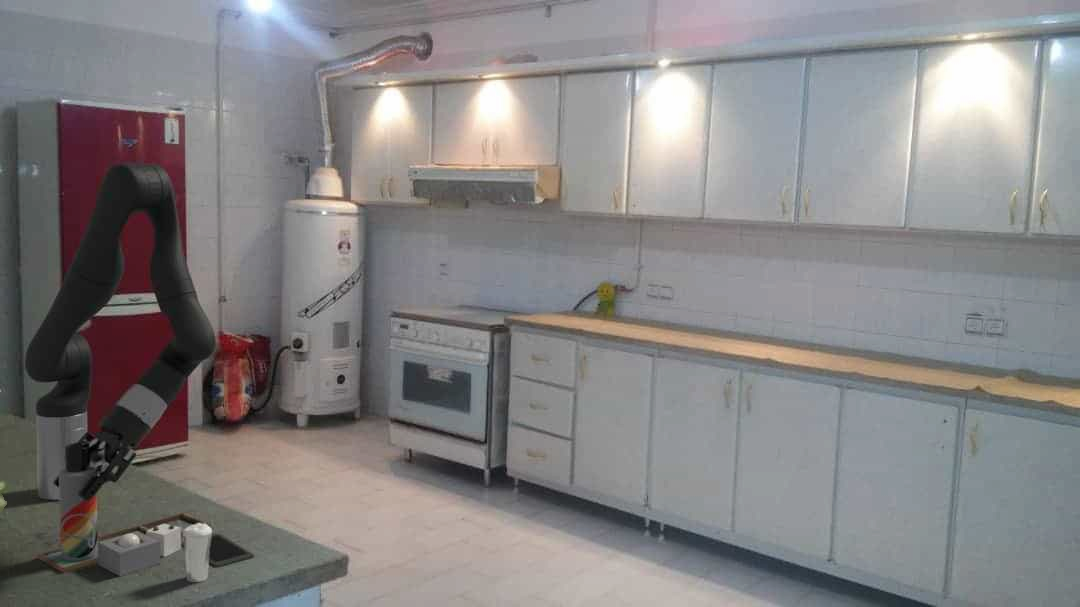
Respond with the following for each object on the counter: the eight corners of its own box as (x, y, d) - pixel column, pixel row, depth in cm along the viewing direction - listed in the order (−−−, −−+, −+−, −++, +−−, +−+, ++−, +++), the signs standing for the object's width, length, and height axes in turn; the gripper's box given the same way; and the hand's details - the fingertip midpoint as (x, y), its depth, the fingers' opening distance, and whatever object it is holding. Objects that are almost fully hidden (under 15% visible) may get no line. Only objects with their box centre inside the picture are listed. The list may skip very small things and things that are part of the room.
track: (37, 558, 151) (37, 553, 151) (183, 516, 174) (183, 512, 173) (63, 572, 146) (63, 568, 146) (210, 528, 168) (210, 524, 168)
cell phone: (216, 570, 151) (216, 566, 151) (179, 546, 160) (179, 542, 160) (255, 559, 156) (255, 555, 156) (217, 536, 166) (217, 532, 165)
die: (146, 552, 156) (146, 527, 155) (163, 544, 159) (163, 520, 159) (164, 556, 154) (164, 531, 154) (180, 548, 158) (181, 524, 157)
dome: (114, 560, 150) (113, 534, 150) (133, 555, 153) (133, 528, 152) (124, 566, 148) (124, 539, 148) (144, 560, 151) (143, 533, 150)
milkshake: (182, 572, 148) (182, 515, 147) (215, 572, 149) (215, 515, 148) (173, 584, 144) (173, 525, 143) (207, 584, 144) (207, 525, 143)
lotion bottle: (82, 563, 149) (79, 448, 147) (53, 559, 150) (50, 445, 148) (105, 551, 155) (103, 440, 153) (76, 547, 156) (74, 437, 154)
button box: (98, 564, 150) (97, 542, 149) (137, 552, 155) (137, 530, 155) (120, 576, 146) (120, 553, 145) (159, 563, 151) (159, 541, 151)
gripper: (98, 396, 160) (33, 471, 152) (141, 410, 152) (75, 490, 144) (127, 420, 165) (65, 494, 157) (170, 434, 156) (107, 513, 148)
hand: (70, 492), depth 150 cm, fingers open, 8 cm apart
